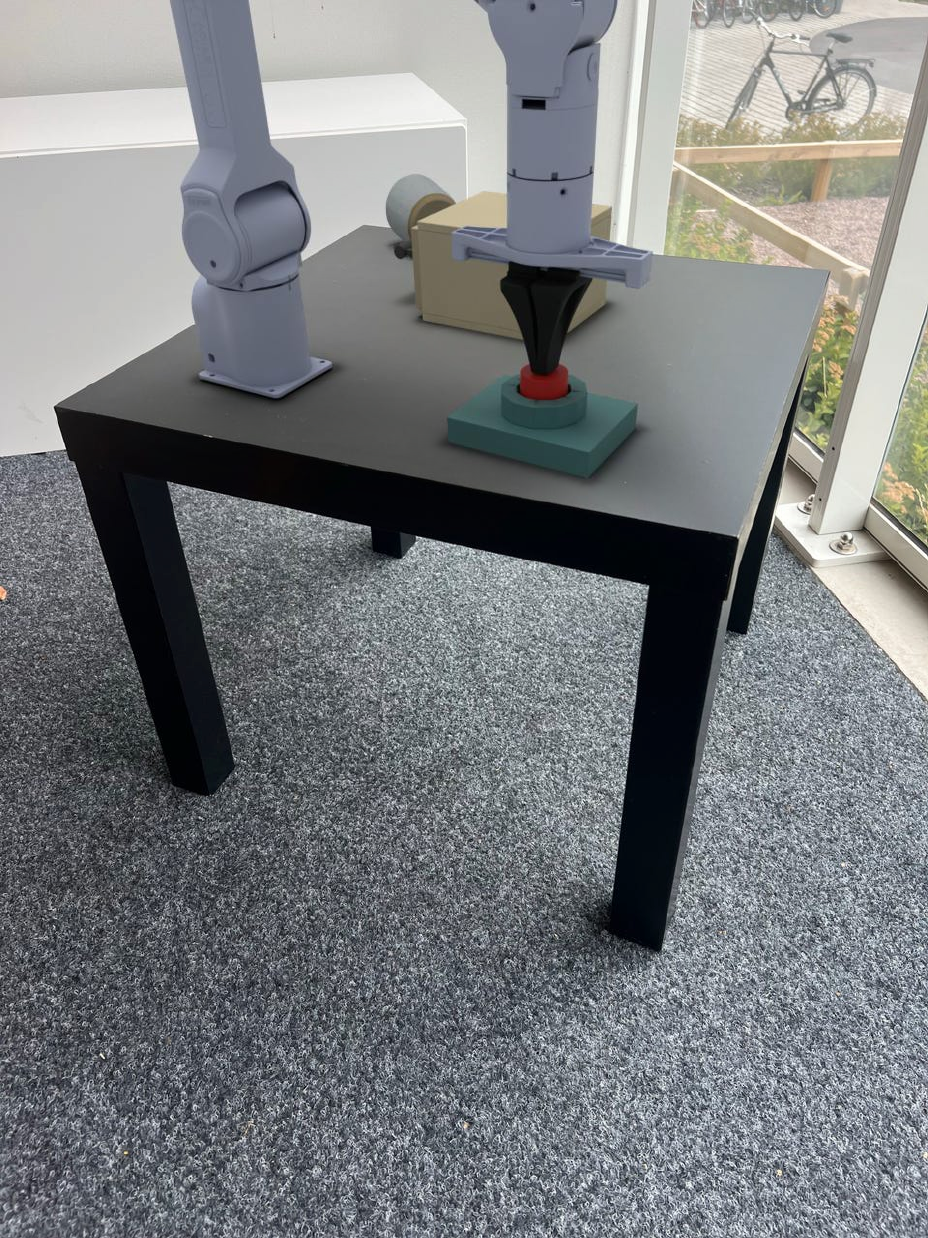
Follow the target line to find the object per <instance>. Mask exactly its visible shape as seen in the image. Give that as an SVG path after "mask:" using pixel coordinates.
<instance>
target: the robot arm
mask: <svg viewBox="0 0 928 1238" xmlns="http://www.w3.org/2000/svg"><path fill="white" fill-rule="evenodd" d="M473 1H474V2H475V3H476V4H477V5H478V6H479V7H480V8H481V9H482V10H484V11H485V12H486V13H487V18H488V25H489V29H490V31H491V33H492V37H493V39H494V41H495V43H496V45H497V47H498V48H499V49H500V51H501V52H502V56H503V57H504V62H505V74H506V75H505V76H506V77H505V82H506V83H505V84H506V194H507V228H491V227H474V226H464V227H462V228H460V229H458V230H456V231H454V232H452V259H453V260H457V261H467V260H468V259H473V260H479V261H485V262H492V263H498V264H505V265H508V271H507V276H505V277H504V278H502V279H501V280H500V289H501V292H502V294H503V295H504V297H505V299H506V300H507V302H508V304H509V306H510V308H511V310H512V312H513V314H514V316H515V318H516V320H517V323H518V325H519V328H520V331H521V334H522V337H523V340H522V341H523V344H524V348H525V351H526V355H527V360H528V364H529V365H530V370H531V373H536V374H541V375H548V374H550V373H551V372H552V371H553V370H555V369H556V368H557V367H558V365H559V364H560V360H561V356H562V351H563V348H564V345H565V341H566V338H567V335H568V333H569V332H568V329H569V326H570V324H571V321H572V319H573V316H574V314H575V312H576V310H577V308H578V306H579V304H580V302H581V300H582V298H583V296H584V294H585V292H586V291H587V289H588V287H589V285H590V284H591V282H592V280H593V278H595V279H602V280H607V282H608V281H609V282H614V283H615V282H616V283H620V284H621V283H623V284H624V286H625V287H626V288H630V289H637V290H639V289H641V288H642V287H643V286H645V285H646V284H647V283H648V282H650V281H651V275H652V265H653V254H654V251H653V250H648V249H642V248H637V247H632V246H629V245H625V244H622V243H618V242H614V241H611V240H610V241H608V240H604V239H601V238H597V237H594V236H590V233H591V215H592V204H593V193H594V176H595V164H596V163H595V162H596V144H597V143H596V142H597V127H598V126H597V124H598V106H599V93H600V91H599V83H600V82H599V79H600V65H601V63H600V62H601V46H602V43H601V42H599V41H600V40H602V39H603V38H604V36H605V35H606V33H607V32H608V31H609V29H610V28H611V25H612V24H613V21H614V19H615V15H616V12H617V9H618V2H619V0H473ZM169 4H170V8H171V13H172V19H173V24H174V28H175V29H174V30H175V33H176V38H177V43H178V49H179V53H180V58H181V63H182V68H183V73H184V77H185V83H186V89H187V92H188V98H189V103H190V108H191V113H192V117H193V121H194V122H193V123H194V128H195V132H196V138H197V143H198V148H199V149H198V150H199V151H198V153H197V156H196V158H195V159H194V161H193V162H192V164H191V166H190V168H189V169H188V171H187V172H186V174H185V176H184V178H183V180H182V182H181V184H180V187H179V190H180V194H181V199H182V204H183V215H182V216H183V217H182V221H181V237H182V242H183V246H184V251H185V252H186V255H187V257H188V259H189V260H190V262H191V264H192V266H193V267H194V269H195V270H196V271H197V272H198V273H199V274H200V276H199V277H198V278H197V280H196V282H195V283H194V286H193V290H192V293H191V312H192V317H193V322H194V325H195V330H196V335H197V339H198V343H199V348H200V352H201V357H202V362H203V365H204V370H202V371H200V372H199V373H198V377H199V379H200V380H203V381H206V382H212V383H214V384H218V385H223V386H227V387H230V388H234V389H238V390H242V391H246V392H249V393H253V394H257V395H260V396H265V397H268V398H272V399H280V398H282V397H284V396H286V395H287V394H289V393H290V392H292V391H294V390H296V389H297V388H299V387H301V386H303V385H305V384H306V383H308V382H310V381H311V380H313V379H315V378H316V377H318V376H319V375H321V374H323V373H324V372H326V371H328V370H330V369H331V368H333V361H330V360H327V359H322V358H318V357H314V356H311V349H310V342H309V335H308V328H307V321H306V313H305V308H304V307H305V306H304V300H303V294H302V286H301V280H300V273H299V268H302V267H303V258H302V252H304V251H305V250H306V248H307V247H308V245H309V243H310V239H311V235H312V222H311V216H310V212H309V209H308V207H307V204H306V202H305V200H304V199H303V196H302V195H301V192H300V190H299V187H298V183H297V178H296V172H295V167H294V165H293V164H292V162H290V161H289V160H288V159H287V158H286V157H285V156H284V155H283V154H281V152H279V151H278V150H277V149H276V148H275V147H274V146H273V144H272V143H271V142H272V141H271V136H270V128H269V122H268V116H267V111H266V103H265V97H264V90H263V85H262V84H263V83H262V78H261V71H260V66H259V59H258V52H257V45H256V39H255V34H254V27H253V20H252V19H253V18H252V13H251V7H250V1H249V0H169ZM567 332H568V333H567Z"/></svg>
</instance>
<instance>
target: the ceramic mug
mask: <svg viewBox="0 0 928 1238" xmlns="http://www.w3.org/2000/svg"><path fill="white" fill-rule="evenodd" d="M454 204H457V202H456V201H455V200H454V198H453V197H452V196H451V195H450V193H448V192H447V191H445V190H444V189H443V188H442V187H440V185H439V184H437V183H436V182H435V180H432V178H430V177H428V176H427V175H423V174H419V173H412V174H408V175H405V176H403V177H401V178H399V179H398V180H397V181H396V182H395V183H394V184H393V186H392V187H391V188H390V190H389V192H388V194H387V197H386V201H385V217H386V220H387V223H388V226H389V227H390V229H391V230H392V232H393V233H394V234H395V235H397V237H399V238H400V239H402V240H403V242H405V241H407V240H409V239H411V228H412V227H415V226H417V221H419V220H421V219H424V218H426V217H428V216H430V215H432V214H435V213H437V212H439V211H441V210H443V209H446V208H448V207H450V206H452V205H454Z"/></svg>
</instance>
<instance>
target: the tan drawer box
mask: <svg viewBox="0 0 928 1238" xmlns="http://www.w3.org/2000/svg"><path fill="white" fill-rule="evenodd" d="M612 214H613V206H612V205H605V204H598V203H597V204H596V203H595V204H594V203H592V215H591V233H590V236H594V237H597V238H601V239H604V240H608V241H611V230H612ZM417 225H418V242H419V259H420V276H421V293H422V309H421V310H422V321H423V322H427V323H431V324H432V323H433V324H438V325H445V326H450V327H455V328H461V329H465V330H471V331H475V332H481V333H486V334H492V335H497V336H500V337H501V336H502V337H507V338H513V339H518V340H522V341H524V340H523V337H522V334H521V331H520V328H519V325H518V323H517V320H516V318H515V316H514V314H513V312H512V310H511V308H510V306H509V304H508V302H507V300H506V299H505V297H504V295H503V294H502V292H501V289H500V280H501V279H502V278H504V277H505V276H507V271H508V265H505V264H498V263H492V262H485V261H479V260H473V259H468V260H467V261H457V260H453V259H452V232H454V231H456V230H458V229H460V228H462V227H464V226H474V227H491V228H507V193H503V192H495V191H485V190H483V191H481V192H479V193H476V194H474V195H472V196H469V197H468V198H466V199H463V200H461V201H459V202H456V204H454V205H452V206H450V207H448V208H446V209H443V210H441V211H439V212H437V213H435V214H432V215H430V216H428V217H426V218H424V219H421V220H419V221H417ZM607 285H608V280H602V279H595V278H593V280H592V282H591V284H590V285H589V287H588V289H587V291H586V292H585V294H584V296H583V298H582V300H581V302H580V304H579V306H578V308H577V310H576V312H575V314H574V316H573V319H572V321H571V324H570V326H569V329H568V332H567V334H569V333H570V332H571V331H572V330H574V329H575V328H576V327H577V326H579V325H580V324H582V323H583V322H584V321H585V320H587V319H588V318H590V317H591V316H593V314H595V313H596V312H597V311H598V310H600V309H601V308H603V307H604V306H605V305H606V303H607V302H606V300H607Z"/></svg>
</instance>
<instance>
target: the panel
mask: <svg viewBox="0 0 928 1238" xmlns="http://www.w3.org/2000/svg"><path fill="white" fill-rule="evenodd" d="M638 408H639V403H638V402H634V401H633V402H632V401H627V400H624V399H619V398H614V397H610V396H605V395H600V394H595V393H591V392H588V390H587V384H586V382H585V381H584V380H582V379H580V378H578V377H577V376H575V375H574V374H570V373H568V390H567V395H566V396H565V397H562V398H559V399H555V400H534V399H529V398H525V397H523V396H522V395H521V394H520V373H518V374H515V375H507V374H503V375H501V376H500V377H499V378H497V379H496V380H494V381H493V382H492V383H491V384H489V385H488V386H487V387H485V388H484V389H483V390H481V391H480V392H479V393H477V394H476V395H475V396H474V397H472V398H471V399H469V400H468V401H467V402H465V403H464V404H463V405H461V406H460V407H459V408H457V409H456V410H454V411H453V412H451V414H449V415H448V416H446V417H447V418H446V419H447V439H448V440H447V442H448V443H451V444H454V445H458V446H462V447H466V448H470V449H473V450H476V451H482V452H485V453H489V454H493V455H496V456H499V457H505V458H507V459H512V460H516V461H519V462H524V463H528V464H532V465H534V466H539V467H543V468H546V469H550V470H554V471H558V472H562V473H566V474H570V475H574V476H577V477H581V478H585V479H589V478H590V476H592V475H593V474H594V472H595V471H596V470H597V469H598V468H600V467H601V465H602V464H603V463H604V462H605V461H606V460H607V459H608V458H609V457H610V456H611V455H612V454H613V453H614V452H615V451H616V450H617V448H618V447H619V446H621V444H622V443H623V442H624V441H626V439H627V438H628V437H629V436H630V435H631V434H632V433H633V432H634V431H635V430H636V428H637V417H638Z"/></svg>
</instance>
